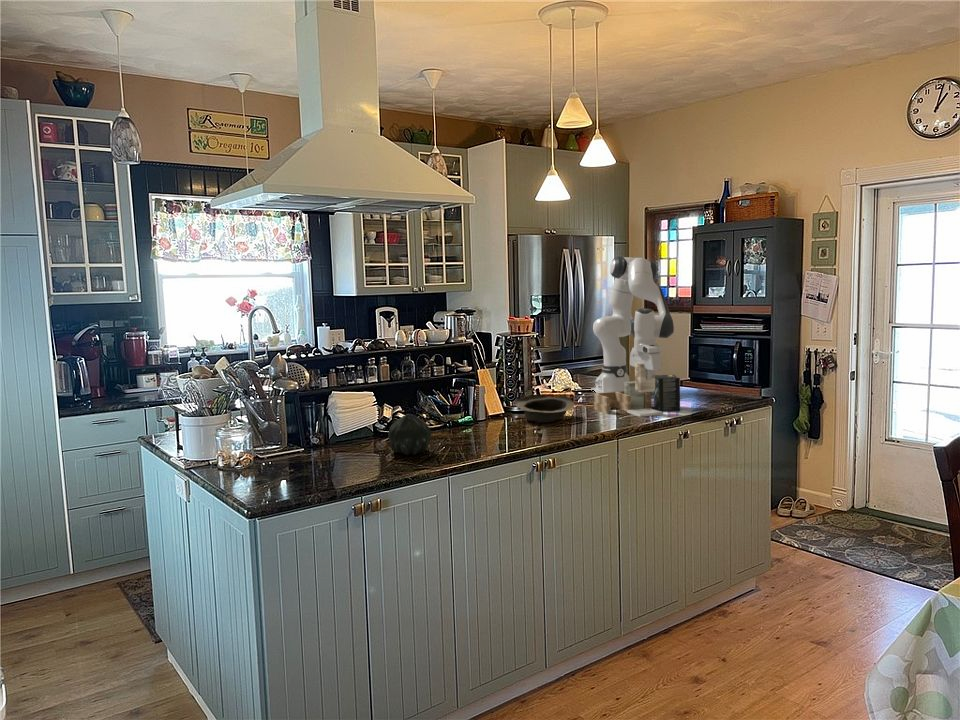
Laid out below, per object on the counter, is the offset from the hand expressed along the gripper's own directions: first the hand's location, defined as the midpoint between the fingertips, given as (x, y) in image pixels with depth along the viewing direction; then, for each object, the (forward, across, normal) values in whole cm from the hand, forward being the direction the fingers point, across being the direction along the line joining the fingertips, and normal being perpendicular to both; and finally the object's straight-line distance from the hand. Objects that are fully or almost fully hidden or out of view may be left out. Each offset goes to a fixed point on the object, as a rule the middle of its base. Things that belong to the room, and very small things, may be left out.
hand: (645, 379), depth 310 cm
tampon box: (+15, -5, +14) cm, 21 cm away
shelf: (+15, -13, -4) cm, 20 cm away
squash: (+15, +26, -108) cm, 112 cm away
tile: (+15, 0, 0) cm, 15 cm away
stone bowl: (+15, -7, -43) cm, 46 cm away
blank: (+5, 0, 0) cm, 5 cm away
